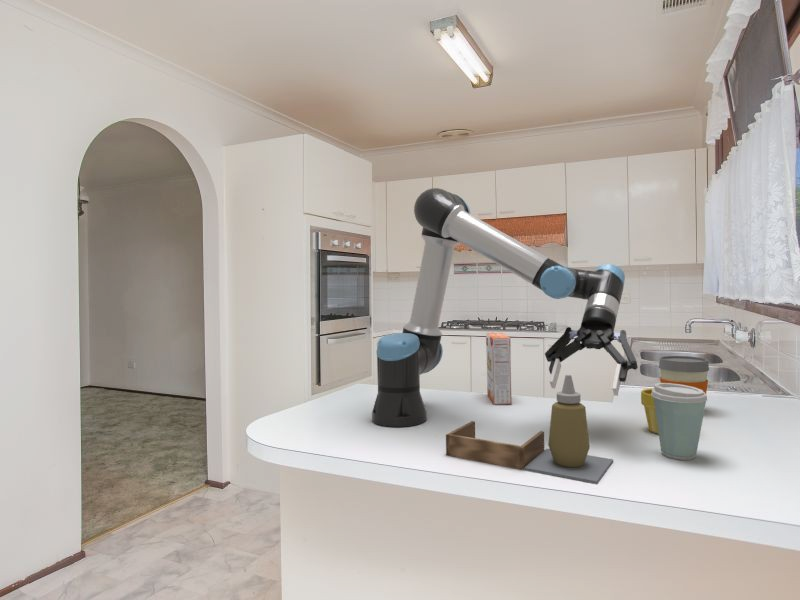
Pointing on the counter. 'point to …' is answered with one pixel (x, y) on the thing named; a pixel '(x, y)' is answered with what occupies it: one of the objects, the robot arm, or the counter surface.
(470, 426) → the walnut nook
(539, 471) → the slate mat
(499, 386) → the cracker box
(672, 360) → the reusable coffee cup
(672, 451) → the disposable coffee cup
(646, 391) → the plant pot
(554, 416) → the squeeze bottle
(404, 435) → the counter surface
